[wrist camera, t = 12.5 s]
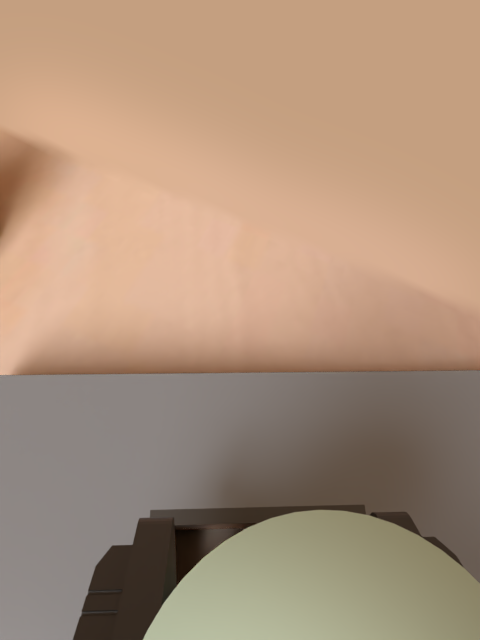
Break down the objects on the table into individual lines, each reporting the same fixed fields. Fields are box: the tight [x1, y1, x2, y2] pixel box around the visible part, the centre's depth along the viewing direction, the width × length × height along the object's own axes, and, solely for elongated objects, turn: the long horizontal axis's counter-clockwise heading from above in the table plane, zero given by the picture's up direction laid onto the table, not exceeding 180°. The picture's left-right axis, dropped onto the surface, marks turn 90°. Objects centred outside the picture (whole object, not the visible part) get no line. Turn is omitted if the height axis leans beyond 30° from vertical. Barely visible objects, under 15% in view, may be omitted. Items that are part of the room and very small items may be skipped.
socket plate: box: [0, 370, 480, 640], centre depth 12 cm, size 18×14×2 cm
